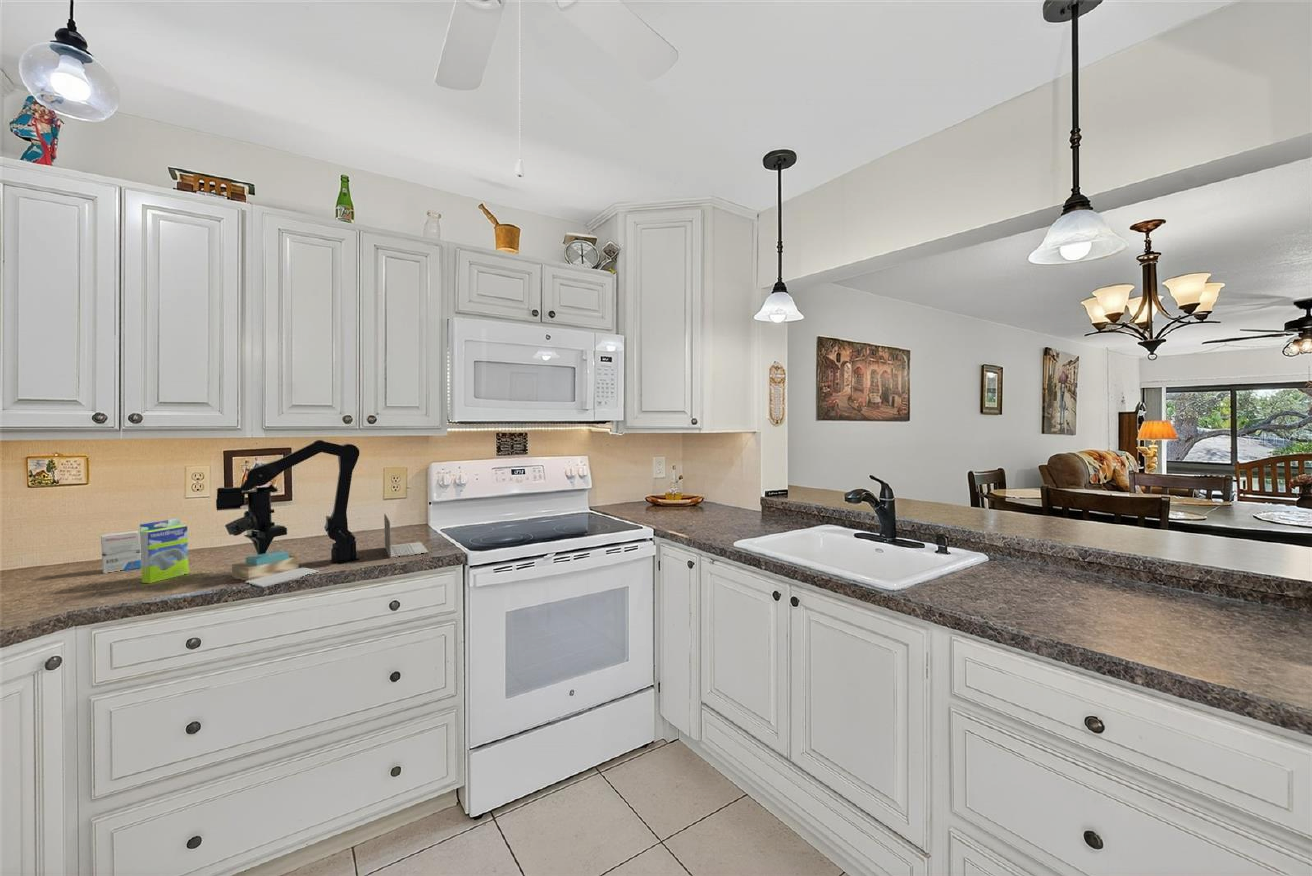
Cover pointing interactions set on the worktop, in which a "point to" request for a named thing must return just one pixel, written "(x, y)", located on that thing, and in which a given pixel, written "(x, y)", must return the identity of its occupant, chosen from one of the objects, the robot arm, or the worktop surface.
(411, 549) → the laptop
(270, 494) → the robot arm
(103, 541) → the ink box
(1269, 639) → the worktop surface
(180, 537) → the box
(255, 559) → the teal rectangular block
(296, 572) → the mat
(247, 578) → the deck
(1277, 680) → the worktop surface
